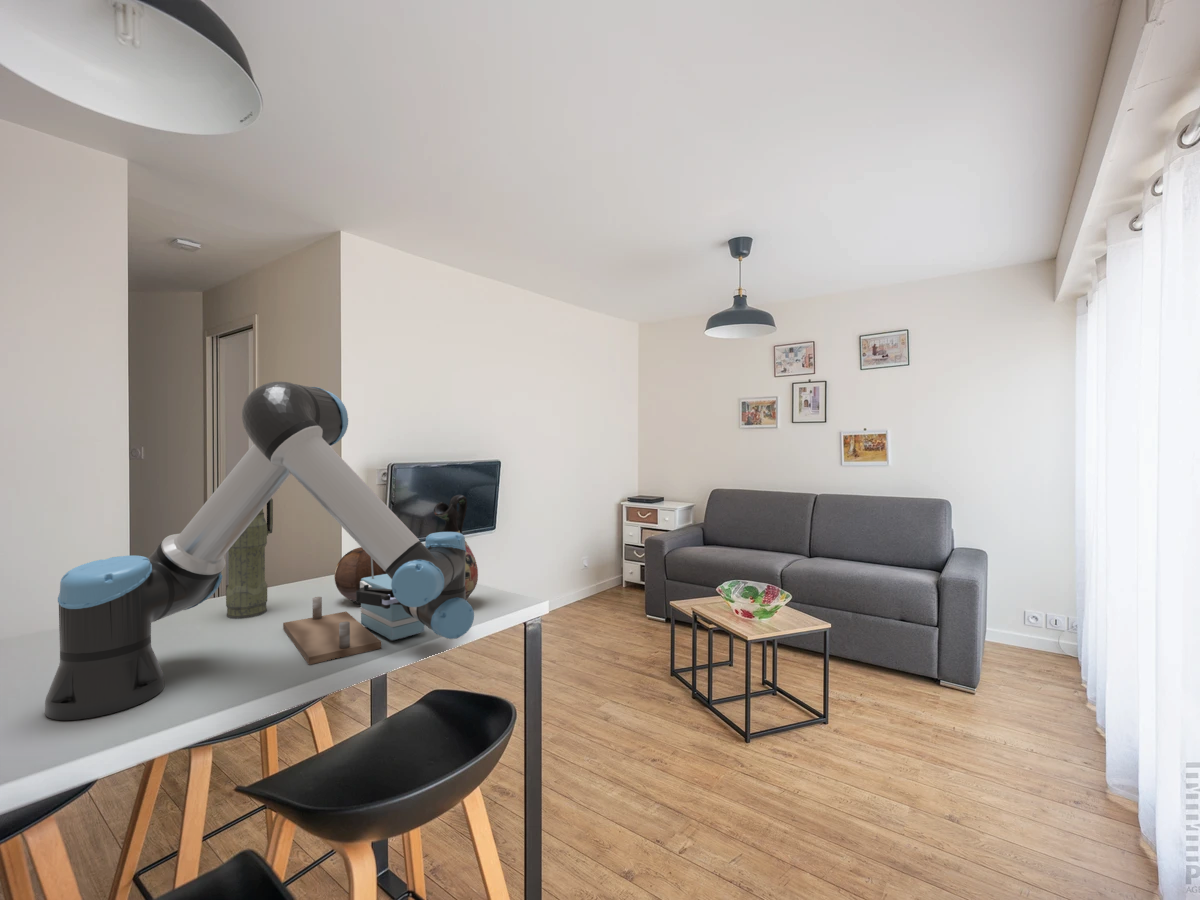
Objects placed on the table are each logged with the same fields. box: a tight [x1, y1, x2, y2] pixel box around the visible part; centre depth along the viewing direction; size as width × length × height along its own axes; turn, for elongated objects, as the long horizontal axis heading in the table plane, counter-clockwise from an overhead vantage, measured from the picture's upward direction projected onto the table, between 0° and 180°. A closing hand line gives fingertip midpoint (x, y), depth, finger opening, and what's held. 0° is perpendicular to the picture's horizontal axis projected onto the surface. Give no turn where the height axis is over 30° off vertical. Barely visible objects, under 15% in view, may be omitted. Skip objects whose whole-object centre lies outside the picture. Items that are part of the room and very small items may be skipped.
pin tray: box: [282, 596, 382, 666], centre depth 124 cm, size 14×27×6 cm, turn 39°
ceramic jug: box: [433, 494, 479, 601], centre depth 149 cm, size 17×15×30 cm
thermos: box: [225, 498, 274, 620], centre depth 141 cm, size 9×12×35 cm
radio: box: [360, 558, 425, 642], centre depth 129 cm, size 16×9×20 cm, turn 47°
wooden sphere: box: [334, 546, 387, 602], centre depth 153 cm, size 15×15×15 cm
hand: (391, 582), depth 131 cm, fingers open, 13 cm apart
